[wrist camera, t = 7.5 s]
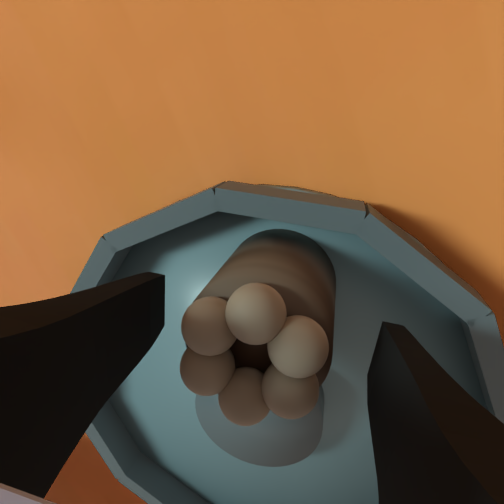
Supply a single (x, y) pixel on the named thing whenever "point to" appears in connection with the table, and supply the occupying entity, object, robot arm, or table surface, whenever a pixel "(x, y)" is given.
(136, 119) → the table surface
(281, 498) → the round groove tray
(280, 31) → the table surface
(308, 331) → the brown ball-rimmed cylinder
